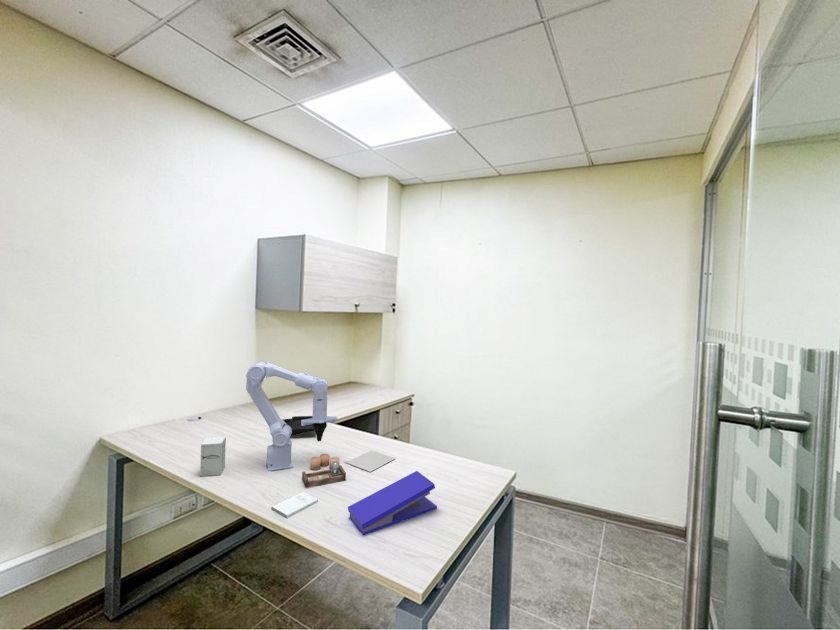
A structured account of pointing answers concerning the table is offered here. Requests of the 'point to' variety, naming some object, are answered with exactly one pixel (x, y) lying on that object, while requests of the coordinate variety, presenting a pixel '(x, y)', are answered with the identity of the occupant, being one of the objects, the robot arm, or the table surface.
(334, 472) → the slider
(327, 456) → the peach rounded cylinder
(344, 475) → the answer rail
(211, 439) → the supplement box
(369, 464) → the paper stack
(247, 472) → the table surface
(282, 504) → the external hard drive
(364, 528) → the stapler
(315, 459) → the peach domed capsule
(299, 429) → the tray
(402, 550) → the table surface
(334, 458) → the peach domed cylinder
